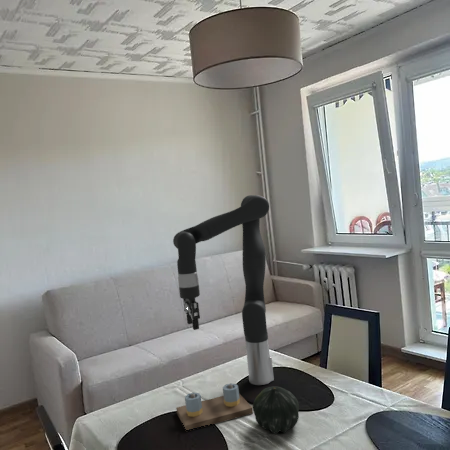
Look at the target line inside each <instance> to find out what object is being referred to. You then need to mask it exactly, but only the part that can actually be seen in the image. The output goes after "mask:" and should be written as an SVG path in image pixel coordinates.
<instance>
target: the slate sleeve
mask: <svg viewBox="0 0 450 450" xmlns="http://www.w3.org/2000/svg"><path fill="white" fill-rule="evenodd" d="M191 394H195V398H191ZM184 401H185V405H186V412H187V415H188V416H192V417H195V416H198V415H200V414H201V413H202V402H201V401H202V395H201V393H199V392H190V393H187V394H186V395H185V396H184Z"/></svg>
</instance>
